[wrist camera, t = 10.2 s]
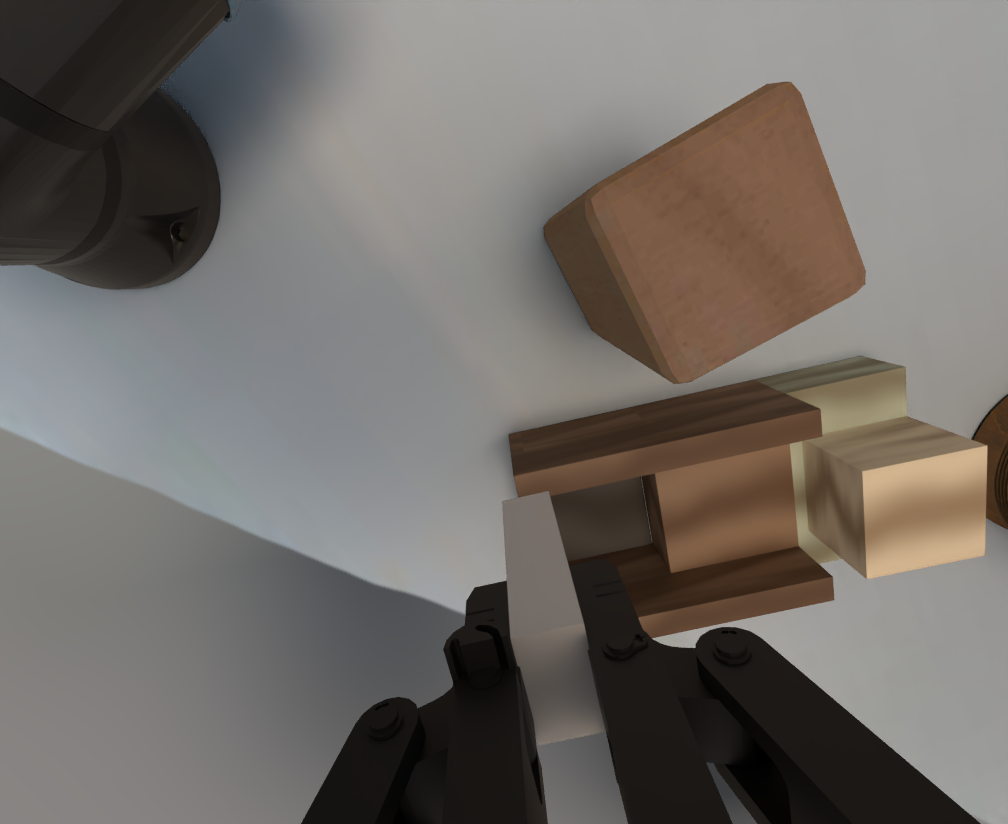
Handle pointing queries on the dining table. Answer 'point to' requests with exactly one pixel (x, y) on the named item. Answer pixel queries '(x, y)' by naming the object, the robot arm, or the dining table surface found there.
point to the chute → (705, 490)
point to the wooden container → (996, 462)
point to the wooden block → (711, 239)
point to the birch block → (896, 495)
